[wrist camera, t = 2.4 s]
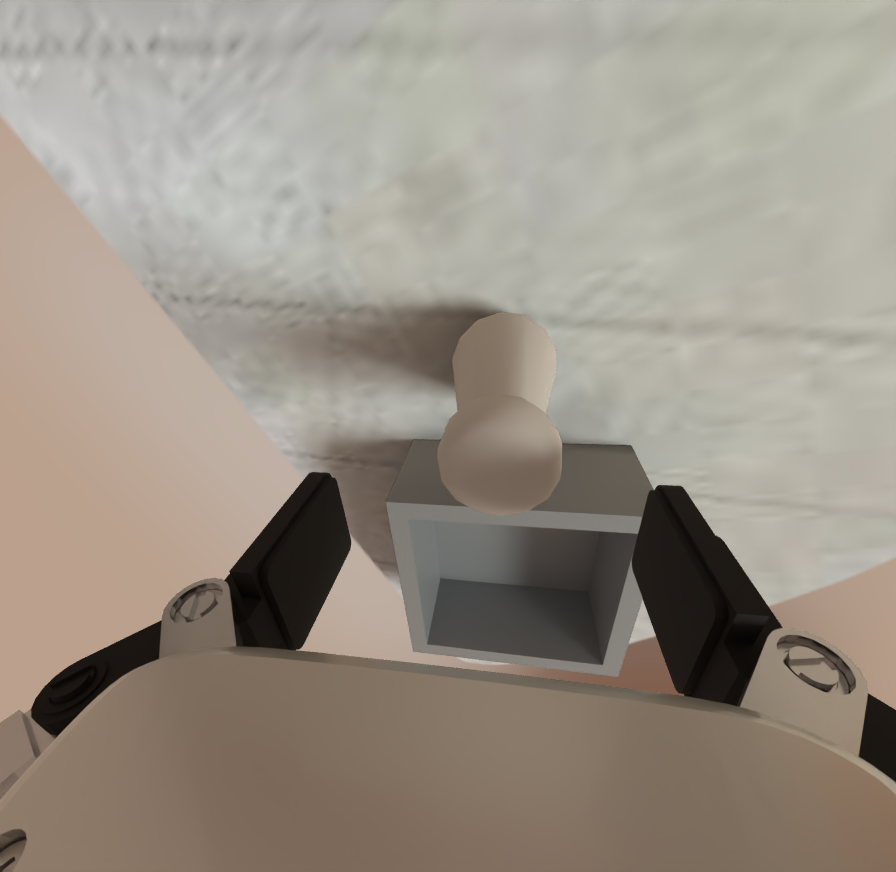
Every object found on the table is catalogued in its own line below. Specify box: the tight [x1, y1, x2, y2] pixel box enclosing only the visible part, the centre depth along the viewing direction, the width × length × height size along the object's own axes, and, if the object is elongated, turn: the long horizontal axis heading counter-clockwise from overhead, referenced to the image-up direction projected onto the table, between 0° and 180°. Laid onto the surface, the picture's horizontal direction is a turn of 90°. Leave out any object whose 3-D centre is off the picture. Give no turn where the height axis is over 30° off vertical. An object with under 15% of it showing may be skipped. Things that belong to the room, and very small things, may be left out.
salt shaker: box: [437, 312, 562, 516], centre depth 18 cm, size 6×6×13 cm
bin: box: [386, 440, 654, 677], centre depth 27 cm, size 15×15×7 cm
